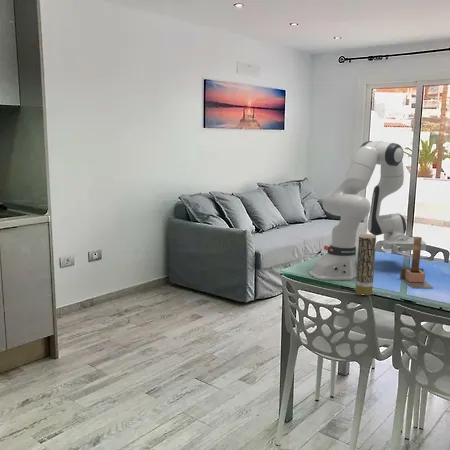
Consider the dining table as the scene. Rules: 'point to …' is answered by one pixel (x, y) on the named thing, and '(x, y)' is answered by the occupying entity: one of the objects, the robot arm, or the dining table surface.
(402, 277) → the rail
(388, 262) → the dining table surface
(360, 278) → the bark textured cylinder
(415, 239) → the dowel
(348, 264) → the robot arm
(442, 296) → the dining table surface
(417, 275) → the collar
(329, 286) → the dining table surface
